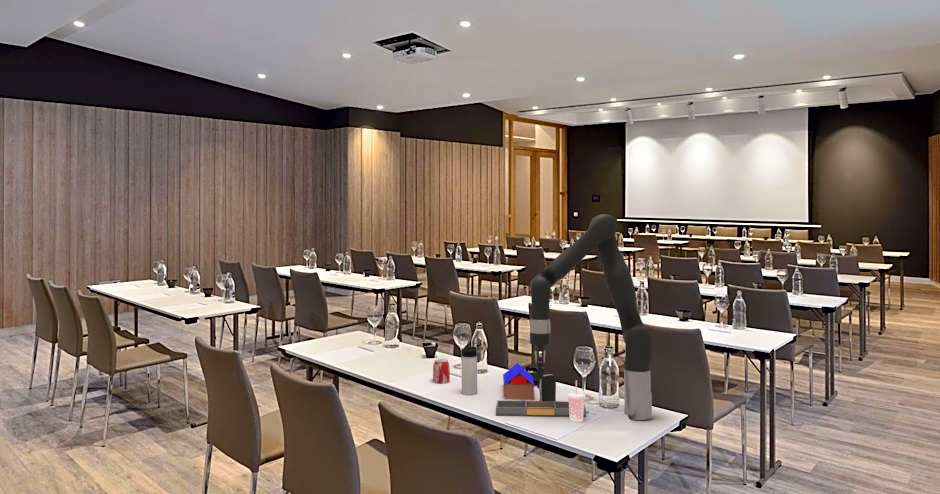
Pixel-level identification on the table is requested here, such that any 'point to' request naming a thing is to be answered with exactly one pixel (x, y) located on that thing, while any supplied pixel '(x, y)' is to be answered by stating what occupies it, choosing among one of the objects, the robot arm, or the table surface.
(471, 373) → the travel mug
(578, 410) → the beverage cup
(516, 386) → the house
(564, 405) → the tray
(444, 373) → the soda can
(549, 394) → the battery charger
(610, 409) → the table surface
